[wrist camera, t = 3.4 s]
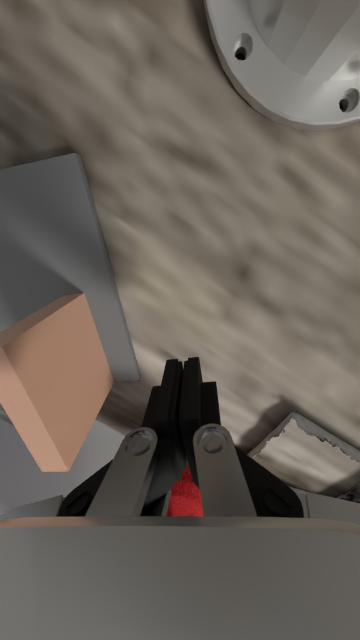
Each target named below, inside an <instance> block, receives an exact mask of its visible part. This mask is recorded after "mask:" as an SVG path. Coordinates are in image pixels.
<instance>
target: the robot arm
mask: <svg viewBox="0 0 360 640" xmlns="http://www.w3.org/2000/svg"><path fill="white" fill-rule="evenodd" d="M203 4H204V9H205V14H206V18H207V23H208V27H209V32H210V36H211V40H212V42H213V45H214V48H215V50H216V53H217V55H218V58H219V60H220V63H221V65H222V68H223V69H224V71H225V73H226V74H227V76H228V78H229V79H230V81H231V82H232V84H233V86H234V87H235V89H236V90H237V92H238V93H239V94H240V95H241V96H242V97H243V98H244V99H245V100H246V101H247V102H248V103H249V104H250V105H251V106H252V107H253V108H254V109H255V110H256V111H258V112H259V113H261V114H262V115H264V116H266V117H267V118H269V119H270V120H272V121H273V122H276V123H279V124H282V125H285V126H288V127H291V128H294V129H302V130H315V131H320V130H327V129H334V128H340V127H345V126H347V125H350V124H353V123H356V122H358V121H360V0H203ZM238 53H242V54H243V55H244V57H245V60H238V59H237V58H236V57H235V56H236V55H237V54H238ZM339 103H341V104H342V105H343V111H341V109H340V106H339ZM187 461H188V466H189V471H191V476H192V481H193V483H194V484H195V485H196V486H197V487H198V488H199V489H200V494H201V501H202V508H203V515H204V517H203V516H166V514H167V510H168V506H169V501H170V497H171V488H172V487H173V486H174V485H175V484H176V483H177V480H182V471H186V468H187ZM0 640H360V503H355V502H351V501H346V500H342V499H337V498H333V497H328V496H324V495H319V494H315V493H310V492H306V495H304V494H300V493H296V492H294V491H293V490H292V489H291V488H290V487H289V486H288V485H286V484H285V483H284V482H282V481H281V480H280V479H278V478H277V477H276V476H274V475H273V474H272V473H270V472H269V471H268V470H266V469H265V468H264V467H262V466H261V465H260V464H258V463H257V462H256V461H254V460H253V459H252V458H250V457H249V456H248V455H246V454H245V453H244V452H242V451H241V450H240V449H238V448H237V447H236V446H234V443H233V440H232V437H231V435H230V433H229V431H228V430H227V429H226V428H225V427H223V426H221V422H220V413H219V403H218V395H217V386H216V382H202V375H201V368H200V361H199V357H193V358H188V361H184V370H183V365H182V361H180V362H178V359H171V360H167V361H166V365H165V370H164V374H163V379H162V383H161V386H153V388H152V391H151V395H150V398H149V402H148V406H147V409H146V413H145V417H144V420H143V424H142V427H140V428H137V429H135V430H133V431H131V432H130V433H129V434H127V435H126V436H125V438H124V440H123V441H122V443H121V445H120V447H119V449H118V451H117V453H116V455H115V457H114V459H113V460H111V461H110V462H109V463H108V464H106V465H105V466H104V467H102V468H101V469H100V470H98V471H97V472H96V473H95V474H93V475H92V476H91V477H89V478H88V479H87V480H85V481H84V482H83V483H82V484H80V485H79V486H78V487H77V488H75V489H74V490H73V491H72V492H71V493H70V494H68V495H67V497H63V496H62V495H60V496H56V497H52V498H49V499H45V500H42V501H38V502H34V503H30V504H27V505H23V506H19V507H16V508H12V509H10V510H8V511H6V512H4V513H3V514H1V515H0Z"/></svg>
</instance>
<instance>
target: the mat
mask: <svg viewBox="0 0 360 640" xmlns="http://www.w3.org/2000/svg"><path fill="white" fill-rule="evenodd" d="M79 293H84V294H85V297H86V300H87V302H88V305H89V308H90V311H91V314H92V317H93V320H94V323H95V326H96V329H97V332H98V335H99V338H100V341H101V344H102V347H103V350H104V353H105V356H106V359H107V362H108V365H109V368H110V371H111V374H112V377H113V380H114V382H124V381H137V380H139V379H140V376H141V375H140V372H139V368H138V364H137V361H136V357H135V353H134V350H133V346H132V342H131V339H130V335H129V331H128V328H127V324H126V320H125V317H124V313H123V309H122V306H121V302H120V298H119V295H118V291H117V287H116V284H115V280H114V276H113V273H112V269H111V265H110V262H109V258H108V254H107V251H106V247H105V243H104V240H103V236H102V233H101V229H100V225H99V222H98V218H97V214H96V211H95V207H94V203H93V200H92V196H91V192H90V189H89V185H88V181H87V178H86V174H85V170H84V167H83V163H82V159H81V156H80V155H79V154H77V153H72V154H67V155H63V156H58V157H54V158H49V159H45V160H40V161H36V162H31V163H27V164H22V165H18V166H13V167H9V168H4V169H0V332H2V331H3V330H5V329H7V328H9V327H10V326H12V325H14V324H16V323H17V322H19V321H21V320H22V319H24V318H26V317H28V316H29V315H31V314H33V313H34V312H36V311H38V310H40V309H41V308H43V307H45V306H47V305H48V304H50V303H52V302H53V301H55V300H57V299H59V298H60V297H62V296H64V295H72V294H79Z"/></svg>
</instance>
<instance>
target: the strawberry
mask: <svg viewBox="0 0 360 640" xmlns="http://www.w3.org/2000/svg"><path fill="white" fill-rule="evenodd" d="M166 516H203V517H204V515H203V508H202V501H201V494H200V489H199V488H198V487H197V486H196V485H195V484H194V483H193V481H192V476H191V471H189V466H188V461H187V468H186V471H182V480H177V483H176V484H175V485H174V486H173V487H172V488H171V497H170V501H169V506H168V510H167V514H166Z"/></svg>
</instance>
